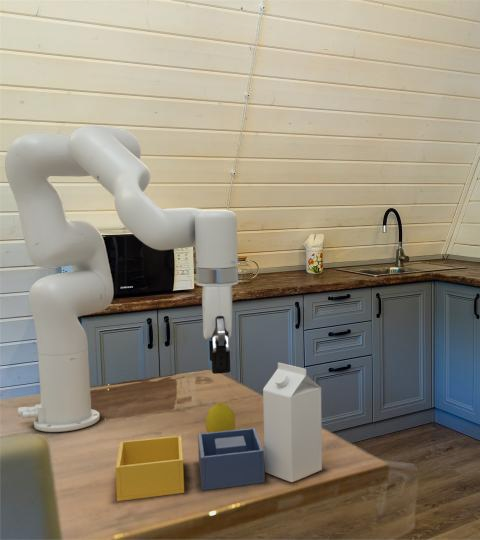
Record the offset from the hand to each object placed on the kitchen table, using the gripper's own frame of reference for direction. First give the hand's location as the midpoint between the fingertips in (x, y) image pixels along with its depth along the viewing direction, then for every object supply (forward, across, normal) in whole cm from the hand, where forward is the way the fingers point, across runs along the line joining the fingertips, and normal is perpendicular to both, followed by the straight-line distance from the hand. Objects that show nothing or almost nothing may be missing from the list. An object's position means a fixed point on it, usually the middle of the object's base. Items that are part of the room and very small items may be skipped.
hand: (219, 366), depth 137 cm
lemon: (+16, -3, 0) cm, 16 cm away
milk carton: (+16, +16, +11) cm, 25 cm away
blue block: (+15, +13, +1) cm, 20 cm away
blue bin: (+16, +13, +1) cm, 21 cm away
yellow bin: (+16, +13, -12) cm, 24 cm away
